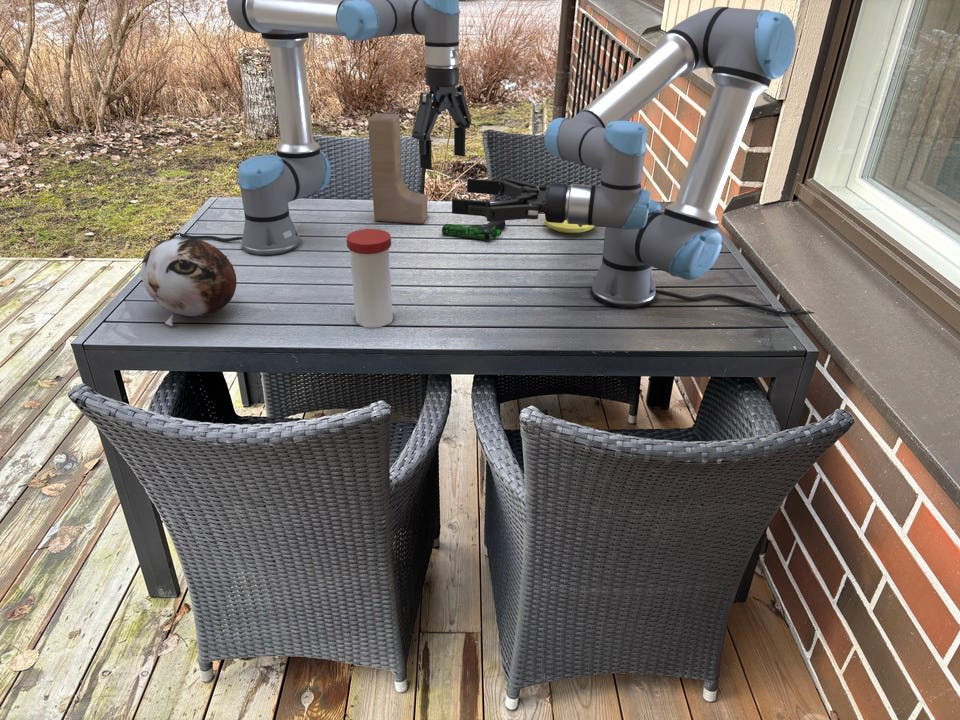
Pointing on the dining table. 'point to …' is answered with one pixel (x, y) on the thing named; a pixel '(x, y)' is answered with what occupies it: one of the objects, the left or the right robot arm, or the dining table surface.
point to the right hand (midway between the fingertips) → (459, 195)
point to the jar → (372, 288)
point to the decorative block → (391, 174)
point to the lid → (368, 241)
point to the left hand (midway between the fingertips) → (443, 161)
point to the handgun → (475, 230)
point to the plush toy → (188, 277)
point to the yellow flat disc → (568, 227)
